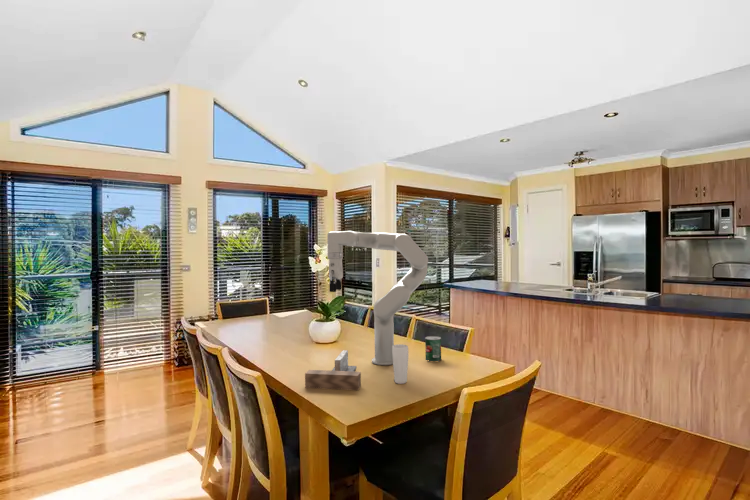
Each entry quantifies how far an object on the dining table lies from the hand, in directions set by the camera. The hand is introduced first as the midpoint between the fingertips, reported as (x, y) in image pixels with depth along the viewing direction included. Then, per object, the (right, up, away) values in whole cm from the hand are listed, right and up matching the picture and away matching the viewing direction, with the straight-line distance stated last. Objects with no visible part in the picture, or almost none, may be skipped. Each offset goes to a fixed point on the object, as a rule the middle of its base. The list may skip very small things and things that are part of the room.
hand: (335, 290), depth 191 cm
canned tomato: (+49, -35, +2) cm, 60 cm away
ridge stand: (+5, -35, -18) cm, 40 cm away
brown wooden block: (+2, -36, -34) cm, 50 cm away
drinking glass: (+30, -35, -30) cm, 55 cm away
